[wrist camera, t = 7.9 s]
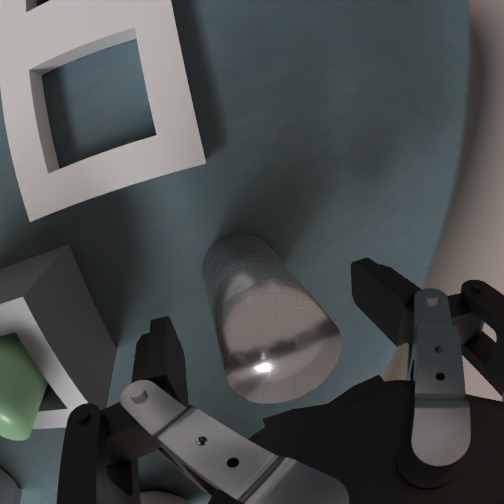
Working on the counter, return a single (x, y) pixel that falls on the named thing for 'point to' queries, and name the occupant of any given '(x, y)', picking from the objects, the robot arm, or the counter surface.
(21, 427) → the button
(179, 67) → the grey flat frame
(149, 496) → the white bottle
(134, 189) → the counter surface
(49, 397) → the grey square holder
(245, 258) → the cylinder
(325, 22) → the counter surface
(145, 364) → the robot arm
